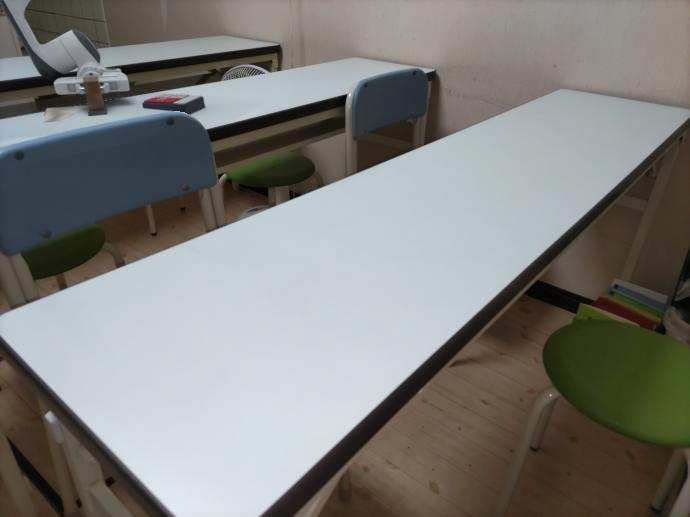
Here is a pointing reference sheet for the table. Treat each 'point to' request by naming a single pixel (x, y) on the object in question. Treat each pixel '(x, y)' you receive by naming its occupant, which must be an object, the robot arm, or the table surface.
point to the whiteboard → (61, 113)
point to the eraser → (94, 96)
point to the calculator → (176, 103)
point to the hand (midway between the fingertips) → (92, 90)
